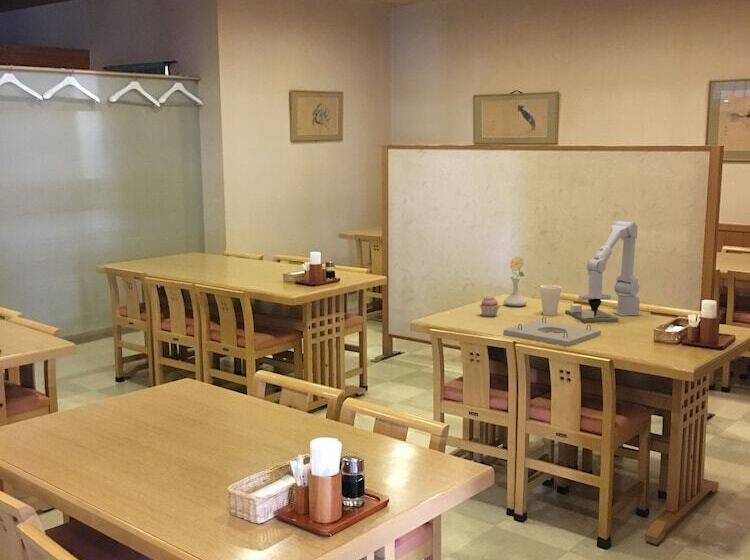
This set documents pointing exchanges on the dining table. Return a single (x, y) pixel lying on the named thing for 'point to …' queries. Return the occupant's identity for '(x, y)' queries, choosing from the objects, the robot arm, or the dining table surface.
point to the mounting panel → (559, 336)
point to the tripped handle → (587, 313)
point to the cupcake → (489, 306)
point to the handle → (575, 307)
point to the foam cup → (550, 299)
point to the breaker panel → (599, 317)
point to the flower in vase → (516, 284)
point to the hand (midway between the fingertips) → (593, 315)
